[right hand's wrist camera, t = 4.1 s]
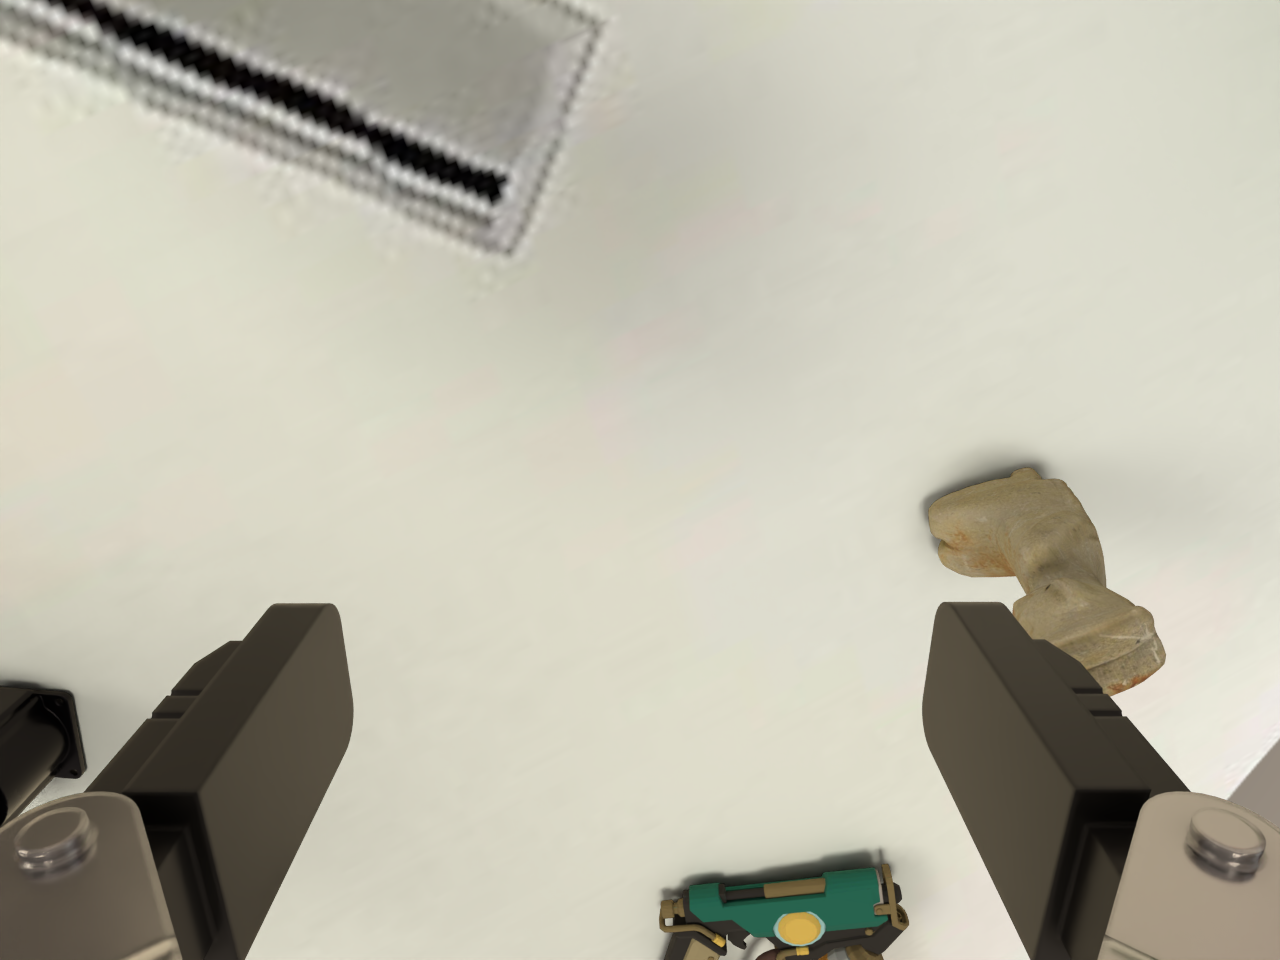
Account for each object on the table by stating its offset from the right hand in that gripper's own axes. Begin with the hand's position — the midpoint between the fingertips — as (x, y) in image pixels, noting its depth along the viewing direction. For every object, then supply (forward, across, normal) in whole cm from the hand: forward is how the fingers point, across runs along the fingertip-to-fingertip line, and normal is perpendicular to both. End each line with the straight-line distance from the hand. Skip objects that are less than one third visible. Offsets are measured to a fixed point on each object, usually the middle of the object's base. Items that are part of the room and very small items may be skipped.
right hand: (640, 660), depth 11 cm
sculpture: (+35, +20, -13) cm, 42 cm away
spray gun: (+35, +10, -45) cm, 58 cm away
